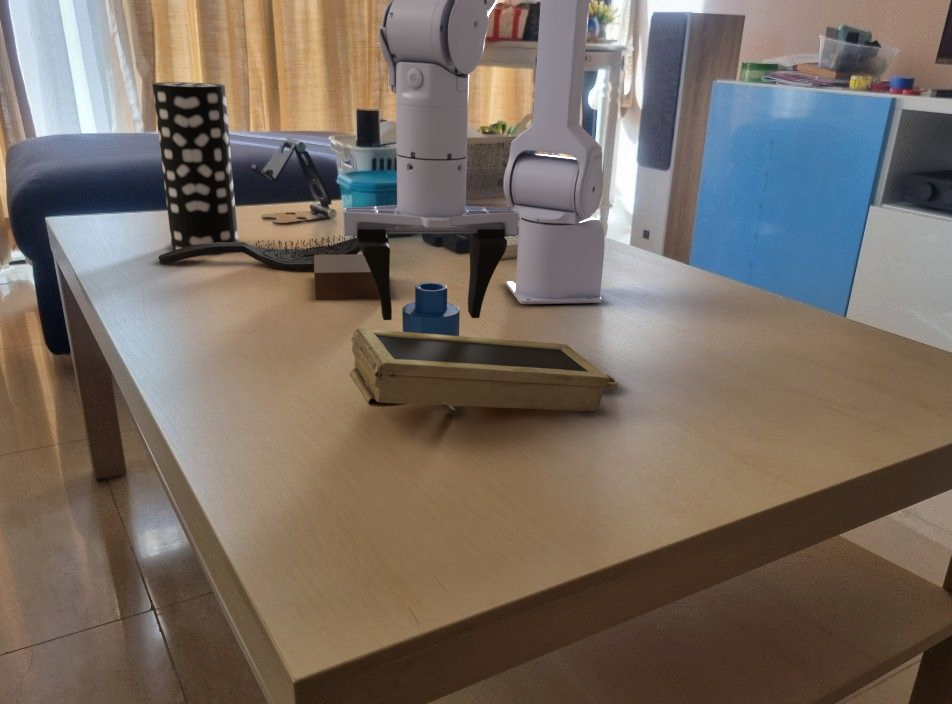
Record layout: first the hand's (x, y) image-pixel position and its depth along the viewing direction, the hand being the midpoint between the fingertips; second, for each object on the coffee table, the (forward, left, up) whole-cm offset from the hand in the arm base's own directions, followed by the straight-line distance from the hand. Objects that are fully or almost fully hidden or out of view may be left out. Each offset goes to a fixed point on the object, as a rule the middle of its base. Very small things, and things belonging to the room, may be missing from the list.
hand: (430, 315), depth 73 cm
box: (-4, +10, -5) cm, 12 cm away
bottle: (0, 0, -4) cm, 4 cm away
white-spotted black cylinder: (+24, -45, -5) cm, 51 cm away
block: (+6, -24, -4) cm, 25 cm away
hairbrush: (+16, -36, -5) cm, 40 cm away
